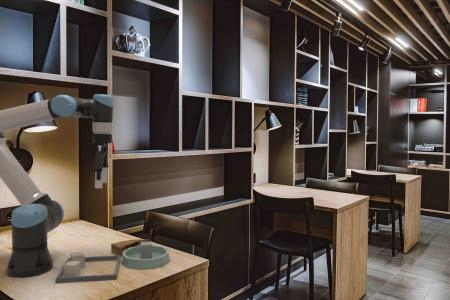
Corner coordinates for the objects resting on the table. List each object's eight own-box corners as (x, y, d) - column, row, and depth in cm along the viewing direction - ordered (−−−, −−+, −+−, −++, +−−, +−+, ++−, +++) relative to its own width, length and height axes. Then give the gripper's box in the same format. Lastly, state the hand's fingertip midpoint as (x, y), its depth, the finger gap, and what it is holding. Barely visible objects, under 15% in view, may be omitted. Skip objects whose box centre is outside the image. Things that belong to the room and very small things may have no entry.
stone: (117, 258, 155) (117, 245, 154) (110, 251, 162) (110, 240, 162) (151, 252, 163) (151, 240, 163) (143, 246, 171) (143, 235, 170)
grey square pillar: (140, 260, 149) (140, 245, 149) (140, 256, 153) (140, 242, 153) (151, 259, 150) (152, 244, 150) (151, 256, 154) (151, 241, 154)
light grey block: (64, 278, 132) (64, 264, 132) (69, 274, 136) (69, 260, 136) (75, 279, 132) (75, 265, 132) (80, 274, 136) (80, 261, 136)
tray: (55, 283, 128) (55, 278, 128) (68, 261, 149) (68, 257, 149) (116, 279, 132) (116, 274, 132) (120, 258, 153) (120, 255, 153)
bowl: (121, 270, 141) (121, 261, 141) (124, 254, 159) (124, 246, 158) (169, 267, 145) (169, 258, 144) (167, 252, 162) (167, 244, 162)
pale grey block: (72, 269, 141) (72, 256, 141) (70, 265, 145) (70, 253, 144) (84, 267, 143) (84, 254, 143) (82, 263, 147) (82, 251, 147)
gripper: (108, 134, 141) (106, 190, 142) (115, 133, 165) (113, 181, 166) (87, 133, 139) (85, 190, 140) (97, 132, 164) (96, 180, 165)
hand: (101, 185), depth 153 cm, fingers open, 13 cm apart
